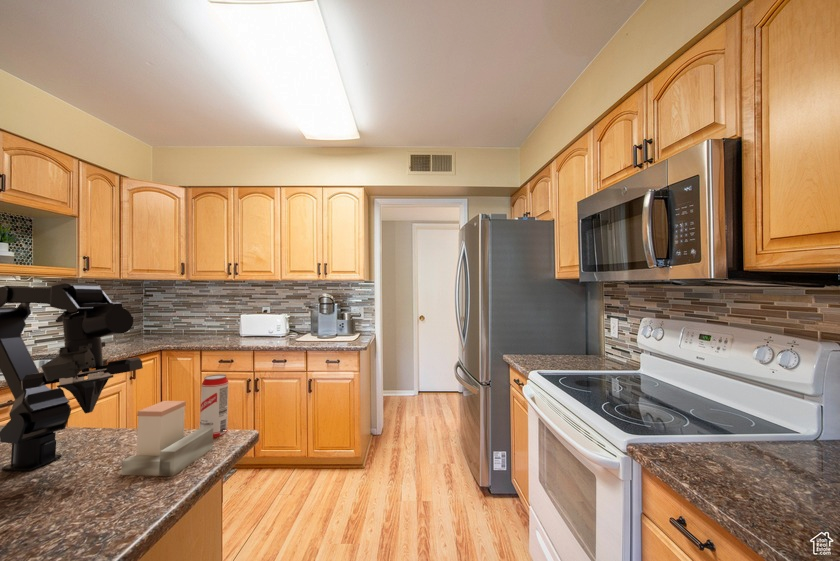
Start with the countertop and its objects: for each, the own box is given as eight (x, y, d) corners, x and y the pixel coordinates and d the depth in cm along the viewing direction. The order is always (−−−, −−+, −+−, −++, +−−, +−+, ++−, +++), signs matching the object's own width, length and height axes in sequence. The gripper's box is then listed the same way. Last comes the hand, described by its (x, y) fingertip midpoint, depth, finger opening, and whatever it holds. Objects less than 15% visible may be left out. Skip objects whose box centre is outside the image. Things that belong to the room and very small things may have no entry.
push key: (134, 468, 71) (137, 411, 72) (161, 452, 79) (163, 400, 79) (159, 468, 71) (161, 411, 72) (183, 452, 79) (185, 401, 79)
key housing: (85, 488, 66) (86, 456, 66) (158, 447, 84) (159, 422, 84) (166, 490, 66) (167, 458, 66) (222, 448, 84) (223, 423, 84)
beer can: (214, 444, 86) (216, 380, 87) (193, 441, 87) (195, 378, 88) (232, 434, 92) (234, 374, 93) (212, 432, 94) (214, 373, 94)
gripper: (-7, 351, 64) (-3, 435, 63) (110, 334, 69) (117, 412, 68) (41, 346, 75) (46, 418, 74) (140, 332, 80) (146, 400, 79)
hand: (88, 412), depth 73 cm, fingers closed
